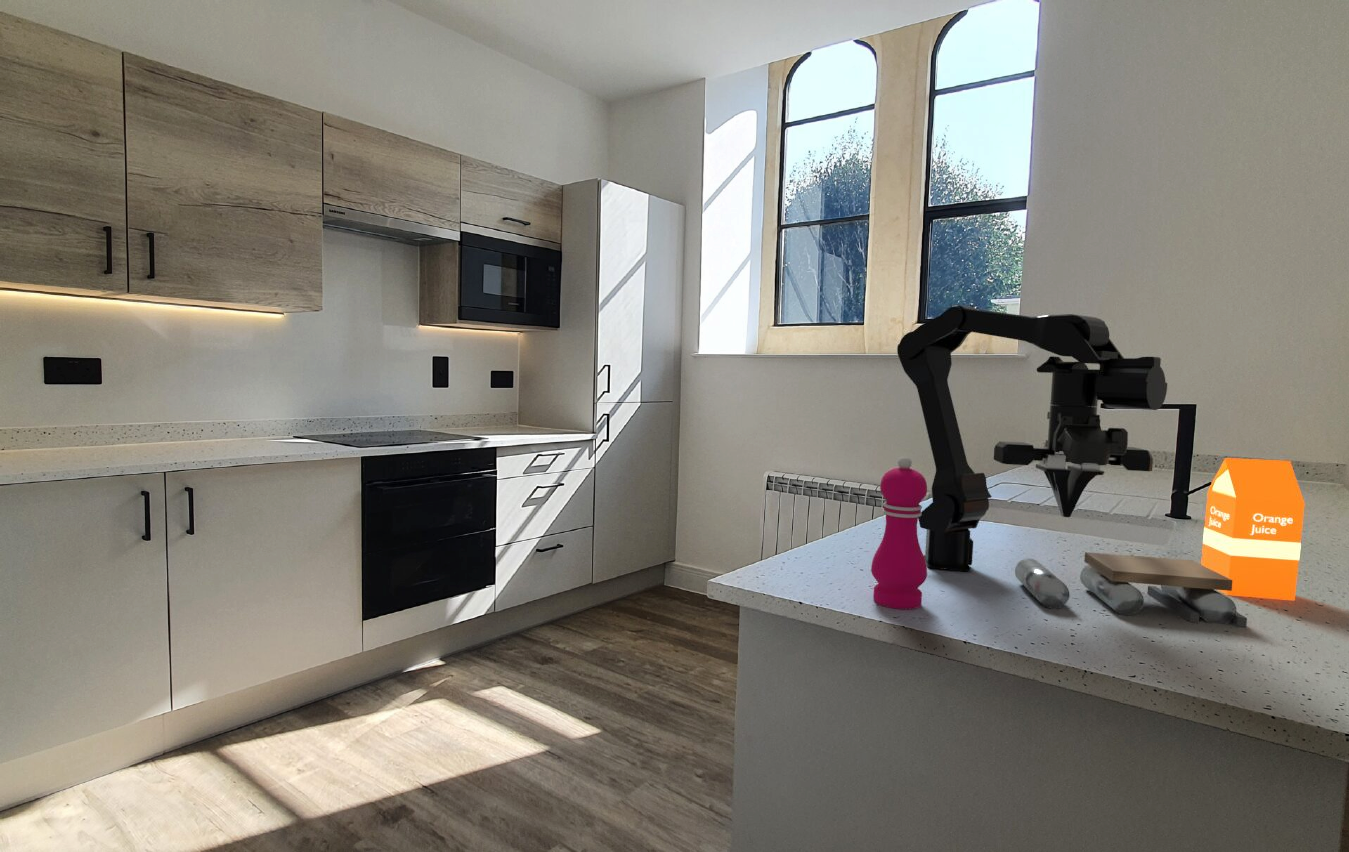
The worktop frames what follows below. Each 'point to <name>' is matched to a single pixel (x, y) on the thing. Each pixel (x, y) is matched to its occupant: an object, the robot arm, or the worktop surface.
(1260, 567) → the orange juice
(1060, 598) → the track rollers
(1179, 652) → the worktop surface
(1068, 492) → the robot arm
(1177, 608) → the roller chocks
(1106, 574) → the walnut slab
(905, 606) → the pepper mill
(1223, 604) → the loose roller
